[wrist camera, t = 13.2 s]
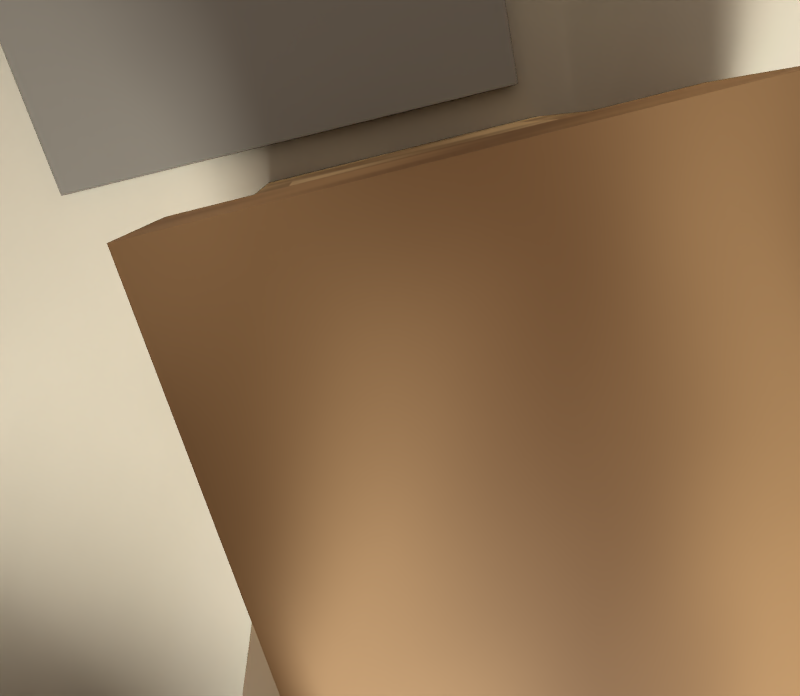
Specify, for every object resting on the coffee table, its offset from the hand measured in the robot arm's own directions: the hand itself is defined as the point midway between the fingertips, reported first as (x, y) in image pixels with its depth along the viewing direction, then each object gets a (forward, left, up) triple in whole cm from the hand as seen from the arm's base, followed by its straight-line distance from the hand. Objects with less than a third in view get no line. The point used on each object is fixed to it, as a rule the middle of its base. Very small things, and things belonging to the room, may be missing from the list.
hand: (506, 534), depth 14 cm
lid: (0, 0, +2) cm, 2 cm away
